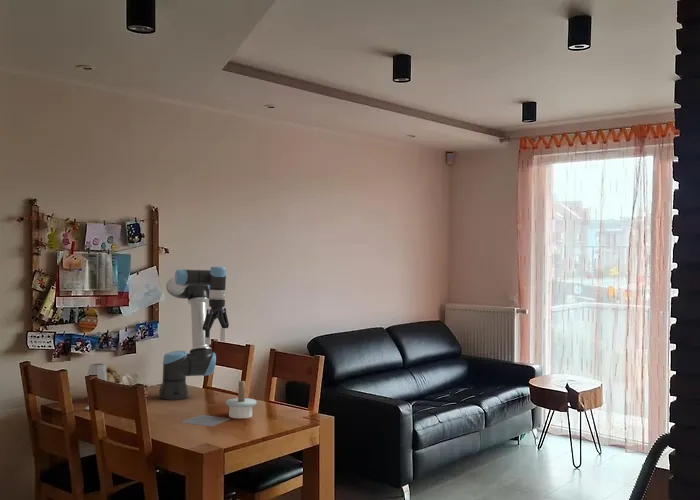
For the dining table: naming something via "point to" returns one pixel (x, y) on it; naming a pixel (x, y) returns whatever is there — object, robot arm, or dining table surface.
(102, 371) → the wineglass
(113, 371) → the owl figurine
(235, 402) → the lid
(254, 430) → the dining table surface
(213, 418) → the mat
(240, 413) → the bowl
